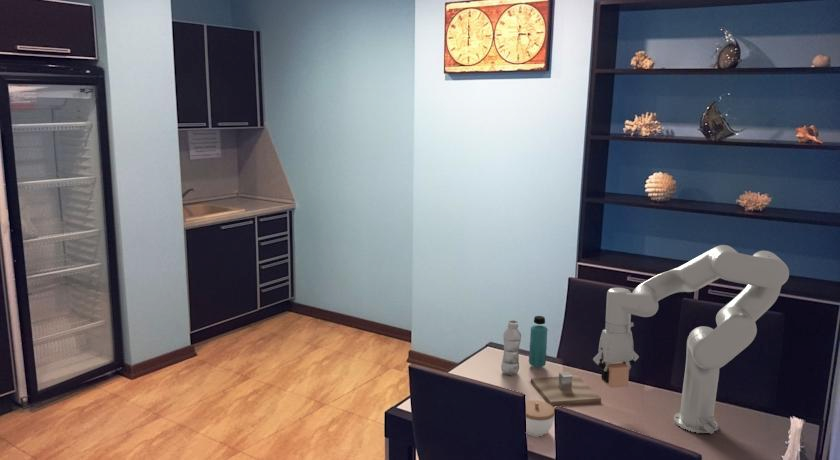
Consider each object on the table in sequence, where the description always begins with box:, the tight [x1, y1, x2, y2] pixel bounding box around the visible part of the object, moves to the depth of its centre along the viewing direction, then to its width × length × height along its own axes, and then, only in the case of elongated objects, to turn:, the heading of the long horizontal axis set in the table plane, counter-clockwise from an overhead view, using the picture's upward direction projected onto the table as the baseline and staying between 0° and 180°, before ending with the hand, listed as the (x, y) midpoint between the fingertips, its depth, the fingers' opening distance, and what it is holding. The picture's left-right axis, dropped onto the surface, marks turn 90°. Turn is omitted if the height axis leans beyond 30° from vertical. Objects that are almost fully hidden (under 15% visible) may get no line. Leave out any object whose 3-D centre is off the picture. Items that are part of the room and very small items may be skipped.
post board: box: [530, 371, 602, 407], centre depth 214 cm, size 18×18×6 cm
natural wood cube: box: [601, 362, 630, 389], centre depth 199 cm, size 6×6×6 cm
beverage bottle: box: [528, 315, 549, 368], centre depth 233 cm, size 6×7×20 cm
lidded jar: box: [525, 399, 555, 438], centre depth 187 cm, size 11×11×9 cm
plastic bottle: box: [500, 319, 522, 376], centre depth 226 cm, size 6×7×20 cm
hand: (614, 379), depth 200 cm, fingers closed on natural wood cube, 5 cm apart
